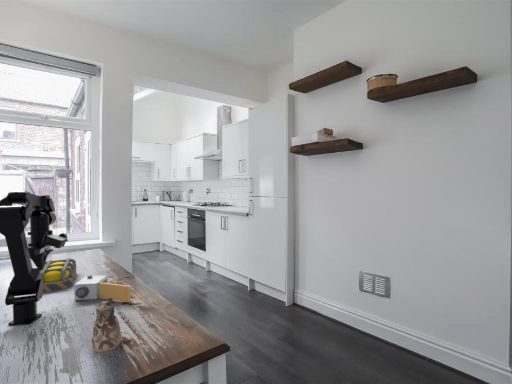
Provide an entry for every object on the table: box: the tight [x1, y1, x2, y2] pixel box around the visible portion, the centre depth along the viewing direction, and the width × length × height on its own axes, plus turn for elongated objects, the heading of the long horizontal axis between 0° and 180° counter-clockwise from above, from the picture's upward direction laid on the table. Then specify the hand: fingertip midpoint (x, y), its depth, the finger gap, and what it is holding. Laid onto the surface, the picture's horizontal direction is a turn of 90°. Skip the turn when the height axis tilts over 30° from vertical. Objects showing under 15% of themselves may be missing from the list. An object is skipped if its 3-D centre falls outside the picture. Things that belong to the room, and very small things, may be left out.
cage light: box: [40, 257, 77, 293], centre depth 136 cm, size 15×8×30 cm
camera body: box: [73, 274, 108, 301], centre depth 118 cm, size 12×8×7 cm, turn 6°
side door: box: [96, 282, 131, 303], centre depth 112 cm, size 15×1×6 cm, turn 71°
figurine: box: [91, 298, 122, 353], centre depth 81 cm, size 7×7×12 cm
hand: (41, 270), depth 111 cm, fingers closed
